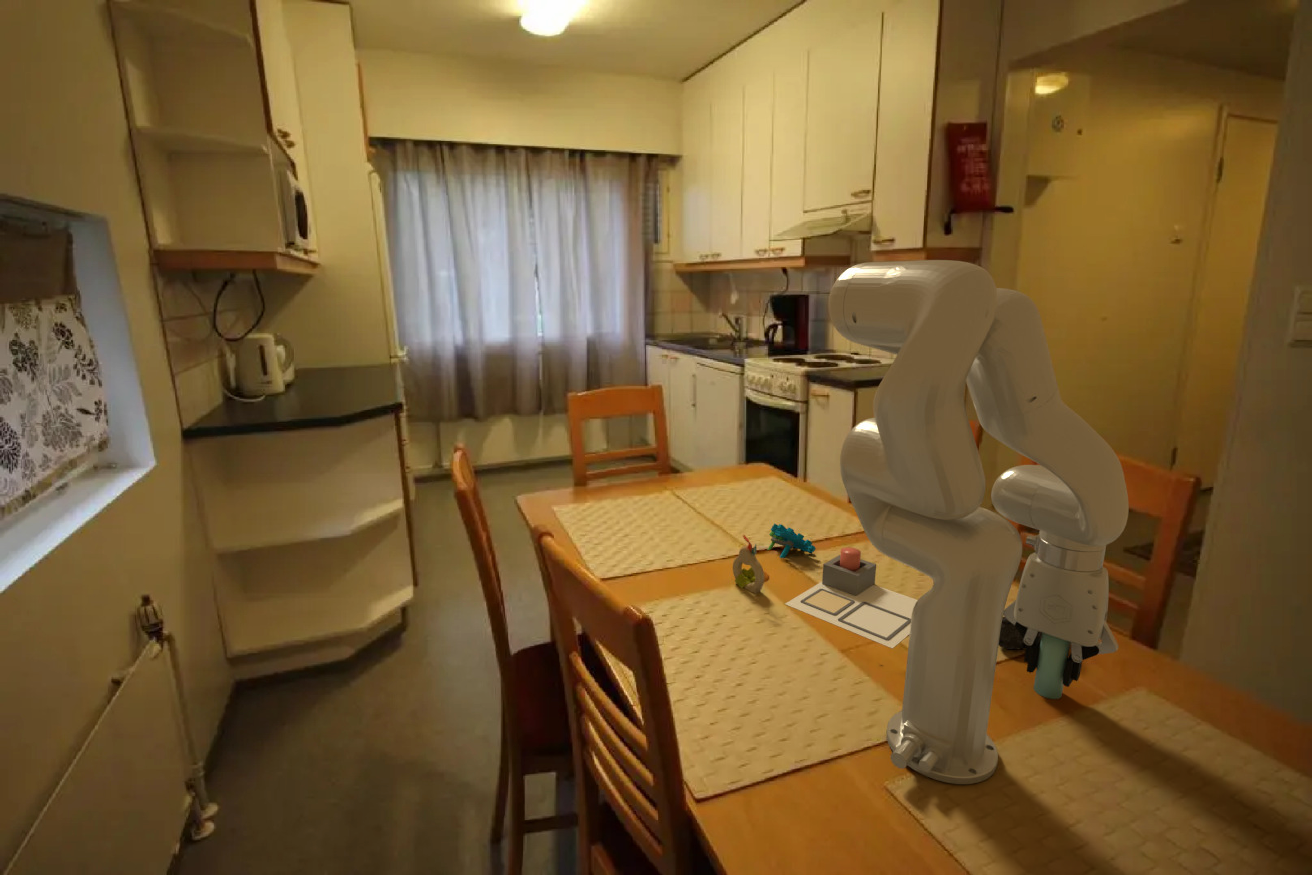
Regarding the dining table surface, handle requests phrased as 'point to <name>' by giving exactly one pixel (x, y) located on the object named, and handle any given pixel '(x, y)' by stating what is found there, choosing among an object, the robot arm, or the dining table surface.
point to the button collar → (849, 576)
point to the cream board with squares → (860, 611)
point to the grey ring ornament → (755, 574)
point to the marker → (1051, 666)
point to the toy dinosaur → (789, 540)
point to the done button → (850, 558)
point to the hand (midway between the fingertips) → (1050, 673)
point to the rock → (1011, 636)
